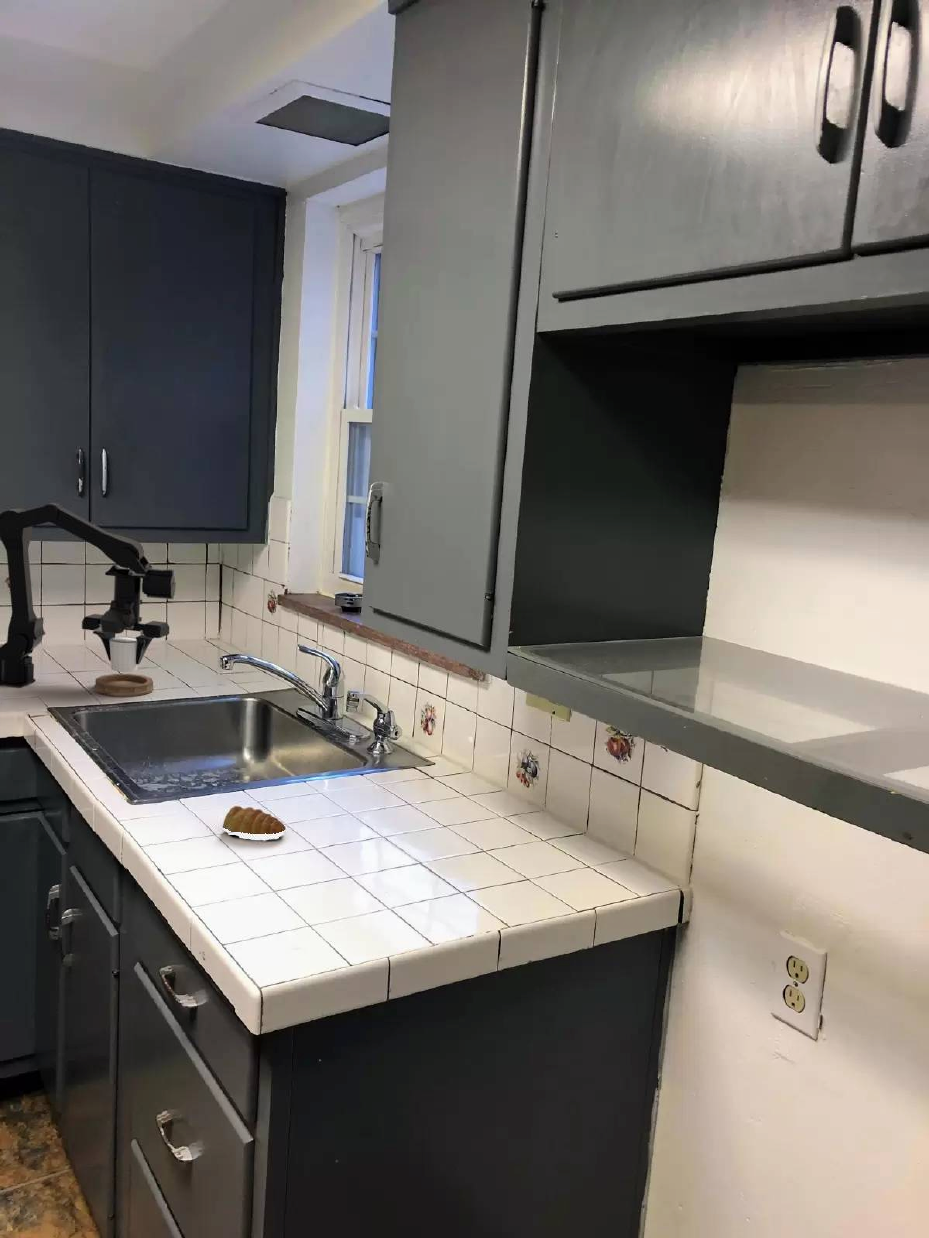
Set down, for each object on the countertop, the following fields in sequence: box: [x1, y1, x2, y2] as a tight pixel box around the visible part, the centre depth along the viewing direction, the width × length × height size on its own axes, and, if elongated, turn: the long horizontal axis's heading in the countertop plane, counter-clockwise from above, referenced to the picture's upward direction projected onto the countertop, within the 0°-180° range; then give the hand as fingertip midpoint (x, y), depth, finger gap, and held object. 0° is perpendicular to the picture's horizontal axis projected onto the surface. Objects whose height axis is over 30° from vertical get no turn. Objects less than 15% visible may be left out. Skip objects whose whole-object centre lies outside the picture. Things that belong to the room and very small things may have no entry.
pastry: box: [222, 805, 286, 834], centre depth 153 cm, size 9×7×4 cm
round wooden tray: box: [93, 673, 155, 698], centre depth 227 cm, size 13×13×2 cm
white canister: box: [109, 636, 139, 673], centre depth 226 cm, size 7×7×7 cm
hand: (124, 662), depth 226 cm, fingers closed on white canister, 6 cm apart
